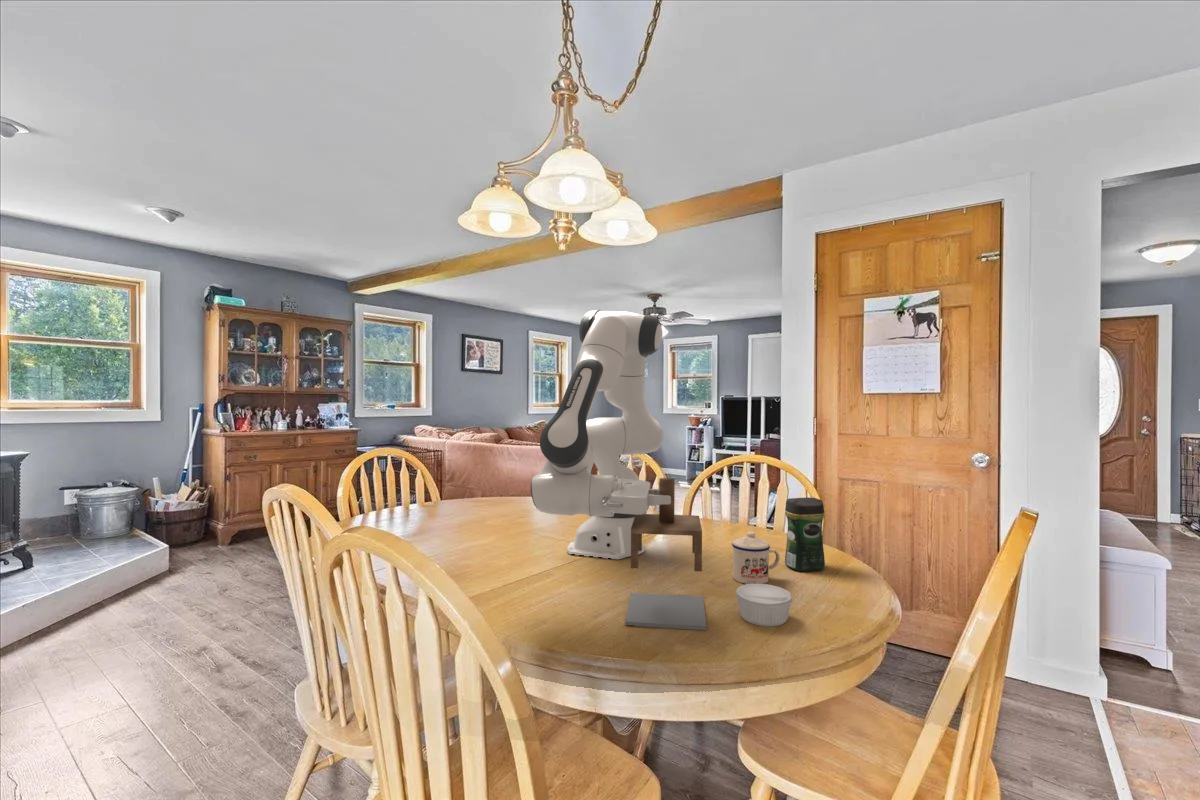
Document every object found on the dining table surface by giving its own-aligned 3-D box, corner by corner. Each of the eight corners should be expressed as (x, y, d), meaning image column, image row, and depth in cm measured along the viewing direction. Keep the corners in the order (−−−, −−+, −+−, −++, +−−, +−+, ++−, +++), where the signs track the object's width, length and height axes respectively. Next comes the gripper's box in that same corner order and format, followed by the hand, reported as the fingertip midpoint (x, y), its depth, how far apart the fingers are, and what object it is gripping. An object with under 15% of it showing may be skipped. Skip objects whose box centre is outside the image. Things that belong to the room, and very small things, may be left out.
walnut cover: (630, 568, 112) (631, 483, 111) (635, 549, 125) (636, 473, 125) (701, 571, 110) (702, 485, 109) (698, 551, 124) (699, 475, 123)
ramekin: (759, 633, 108) (759, 606, 108) (724, 612, 118) (724, 587, 118) (804, 623, 112) (804, 597, 112) (766, 604, 123) (766, 580, 123)
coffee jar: (812, 562, 153) (813, 494, 152) (829, 571, 145) (830, 500, 144) (779, 563, 151) (780, 495, 151) (795, 573, 143) (795, 501, 143)
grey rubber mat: (625, 625, 111) (625, 621, 111) (631, 596, 127) (631, 592, 127) (706, 630, 109) (706, 626, 109) (702, 599, 125) (702, 596, 125)
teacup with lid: (739, 586, 134) (740, 537, 133) (726, 573, 143) (726, 528, 142) (787, 584, 135) (787, 536, 135) (771, 572, 144) (771, 527, 144)
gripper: (599, 489, 109) (671, 491, 107) (611, 474, 129) (671, 475, 127) (599, 521, 109) (670, 523, 107) (610, 501, 129) (671, 503, 127)
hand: (671, 497), depth 117 cm, fingers closed on walnut cover, 3 cm apart
